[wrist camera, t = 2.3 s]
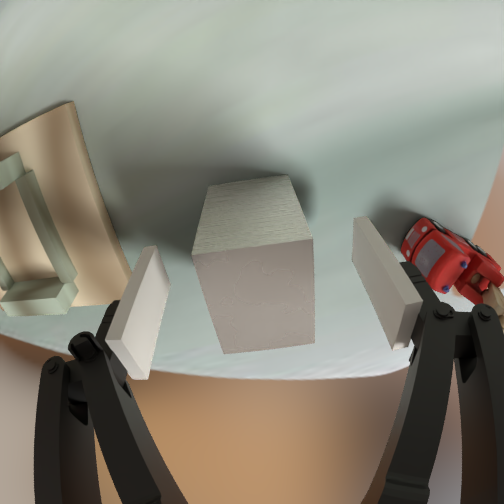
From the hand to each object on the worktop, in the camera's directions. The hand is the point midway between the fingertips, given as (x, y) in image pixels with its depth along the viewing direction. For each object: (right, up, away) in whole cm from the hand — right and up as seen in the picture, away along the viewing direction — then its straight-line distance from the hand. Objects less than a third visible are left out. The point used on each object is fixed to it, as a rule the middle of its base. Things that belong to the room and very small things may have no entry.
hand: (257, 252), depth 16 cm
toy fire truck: (+16, 0, +5) cm, 17 cm away
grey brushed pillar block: (0, +2, +2) cm, 3 cm away
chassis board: (-17, +2, +2) cm, 17 cm away
